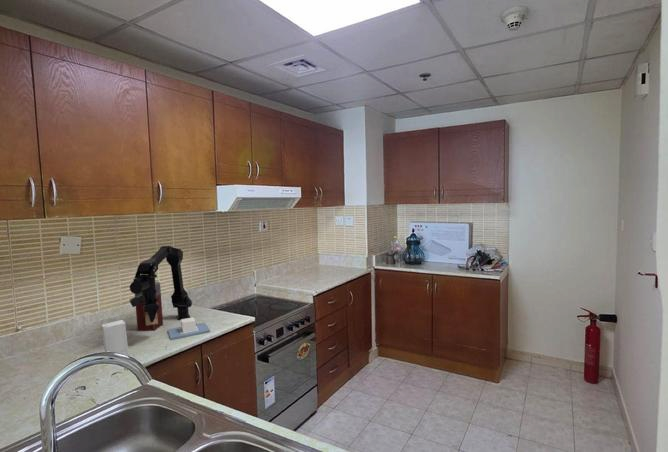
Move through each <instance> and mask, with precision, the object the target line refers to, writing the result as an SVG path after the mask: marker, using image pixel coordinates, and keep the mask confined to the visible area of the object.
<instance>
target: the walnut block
mask: <svg viewBox="0 0 668 452" xmlns="http://www.w3.org/2000/svg"><path fill="white" fill-rule="evenodd" d="M145 320H146V326H147V325H153V324H158V317H157V313H156V316H155V319H154V321H153V322H151V321H150V318H149V315H148V313H147V312H145Z"/></svg>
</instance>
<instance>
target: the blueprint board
mask: <svg viewBox="0 0 668 452" xmlns="http://www.w3.org/2000/svg"><path fill="white" fill-rule="evenodd" d="M207 333H211V329H210V328H209V326H208V325H207V323H206V322H200V323H196V330H195V331H190V332H185V333H183V332H182V330H181V326H178V327H173V328H168V329H167V334H168V336H169V339H170V341H174V340H178V339H184V338H188V337H192V336H193V337H194V336H198V335H204V334H207Z"/></svg>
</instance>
